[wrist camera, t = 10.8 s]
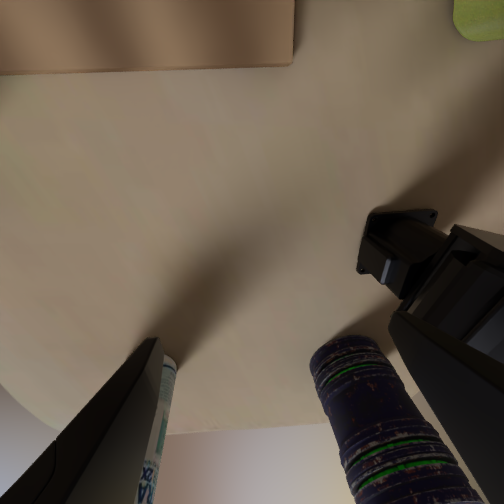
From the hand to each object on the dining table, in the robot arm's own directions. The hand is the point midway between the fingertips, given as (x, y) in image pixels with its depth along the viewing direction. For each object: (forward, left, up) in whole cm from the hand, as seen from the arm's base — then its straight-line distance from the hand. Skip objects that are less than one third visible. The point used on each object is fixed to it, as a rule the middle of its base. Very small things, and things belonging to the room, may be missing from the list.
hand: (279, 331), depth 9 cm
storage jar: (-12, +22, -13) cm, 28 cm away
